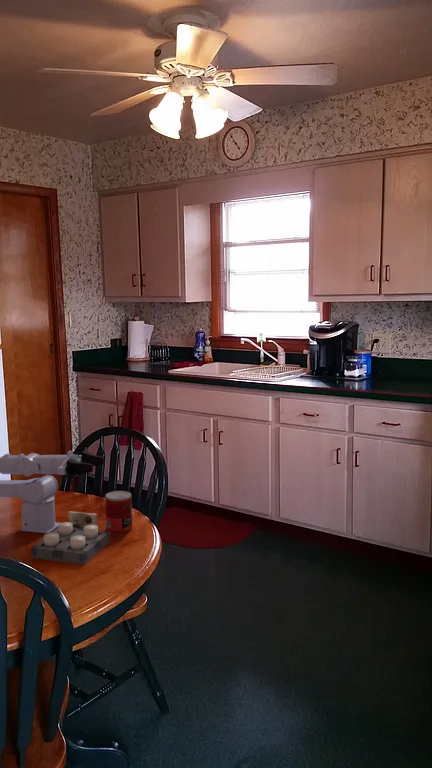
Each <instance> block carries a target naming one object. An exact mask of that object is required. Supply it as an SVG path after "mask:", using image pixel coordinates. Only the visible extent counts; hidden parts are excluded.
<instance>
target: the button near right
mask: <svg viewBox="0 0 432 768" xmlns="http://www.w3.org/2000/svg"><path fill="white" fill-rule="evenodd" d="M70 547H71V549H73V550H83V549H84V548H85V537H84V536H81V535H77V536H73V537H71V538H70Z"/></svg>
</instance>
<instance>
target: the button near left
mask: <svg viewBox="0 0 432 768" xmlns="http://www.w3.org/2000/svg"><path fill="white" fill-rule="evenodd" d="M43 538H44V546H46V547H56V546H58V545H59V534H58V533H51V532H50V533H44V535H43Z"/></svg>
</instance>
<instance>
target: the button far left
mask: <svg viewBox="0 0 432 768" xmlns="http://www.w3.org/2000/svg"><path fill="white" fill-rule="evenodd" d="M60 523H61V524H59V525H58V527H57V528H58V530H59V535H62V536H70V535H71V534H73V524H72V523H70V522H69V521H68V522H67V521H65V522H60Z"/></svg>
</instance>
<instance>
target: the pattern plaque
mask: <svg viewBox="0 0 432 768" xmlns="http://www.w3.org/2000/svg"><path fill="white" fill-rule="evenodd" d="M68 522H70V523H72V524H73V527H74V528H84V527H85V526H87V525H97V526H98V525H99V524H98V514H97V513H92V512H81V511H70V510H69V511H68ZM98 527H99V526H98Z"/></svg>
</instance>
